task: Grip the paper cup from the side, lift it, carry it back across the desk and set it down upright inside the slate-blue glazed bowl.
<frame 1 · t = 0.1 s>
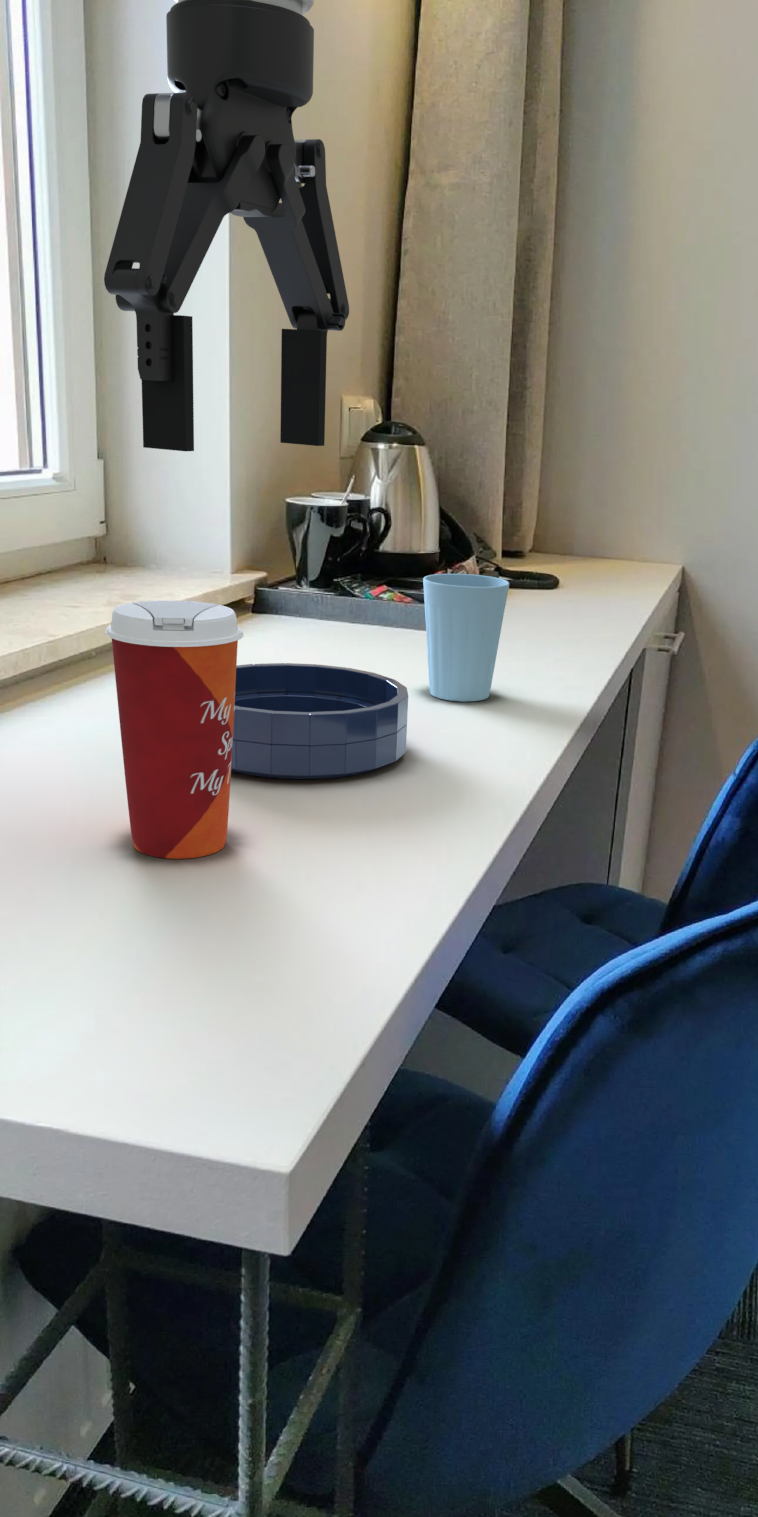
hand: (240, 447, 74), 23 cm above the table, tool pointing down, fingers open, 13 cm apart
bowl: (295, 751, 98), on the table
cup: (459, 696, 119), on the table
paper cup: (179, 845, 78), on the table
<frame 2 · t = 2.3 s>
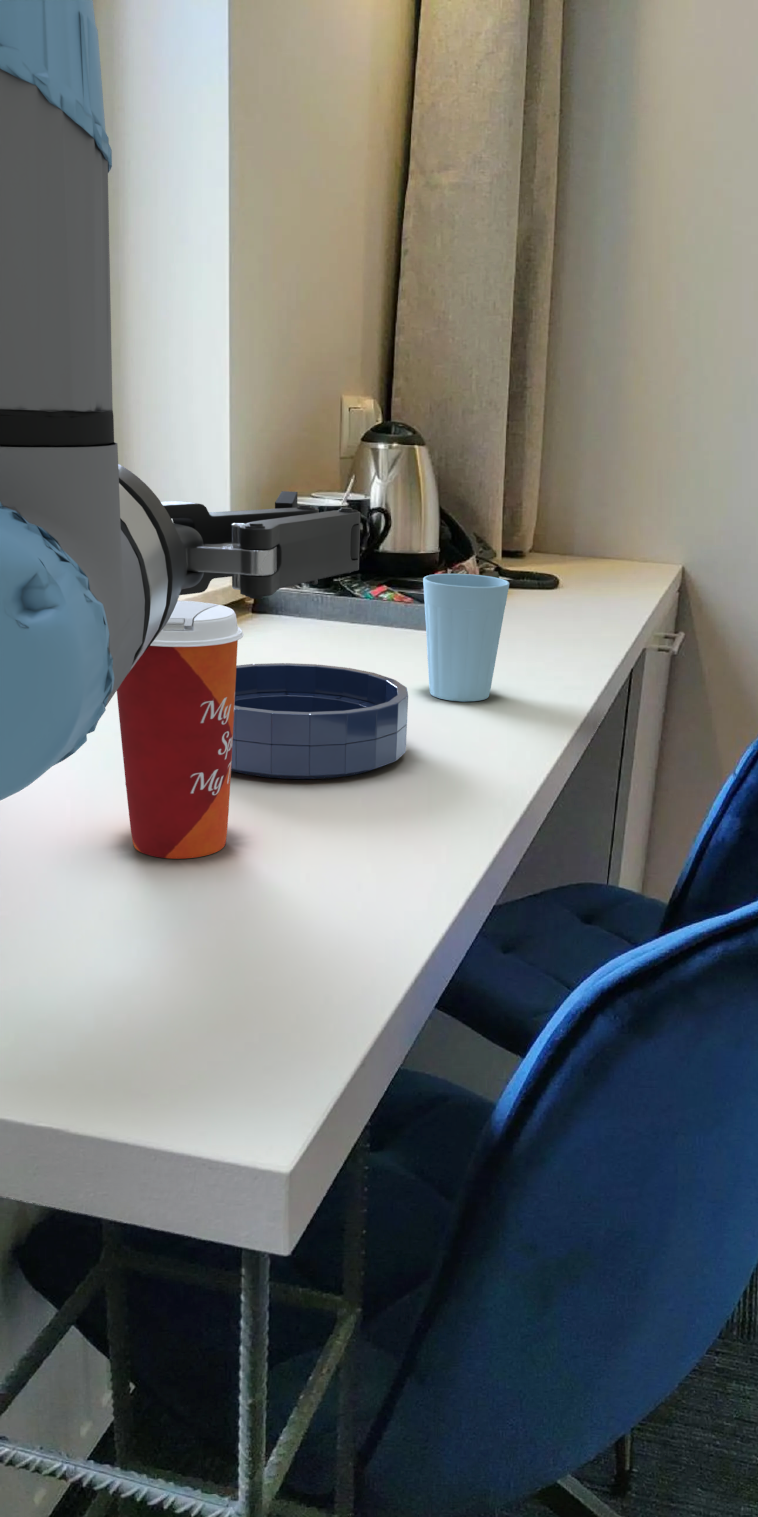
hand: (147, 514, 62), 20 cm above the table, tool horizontal, fingers open, 13 cm apart
nothing on the table moved.
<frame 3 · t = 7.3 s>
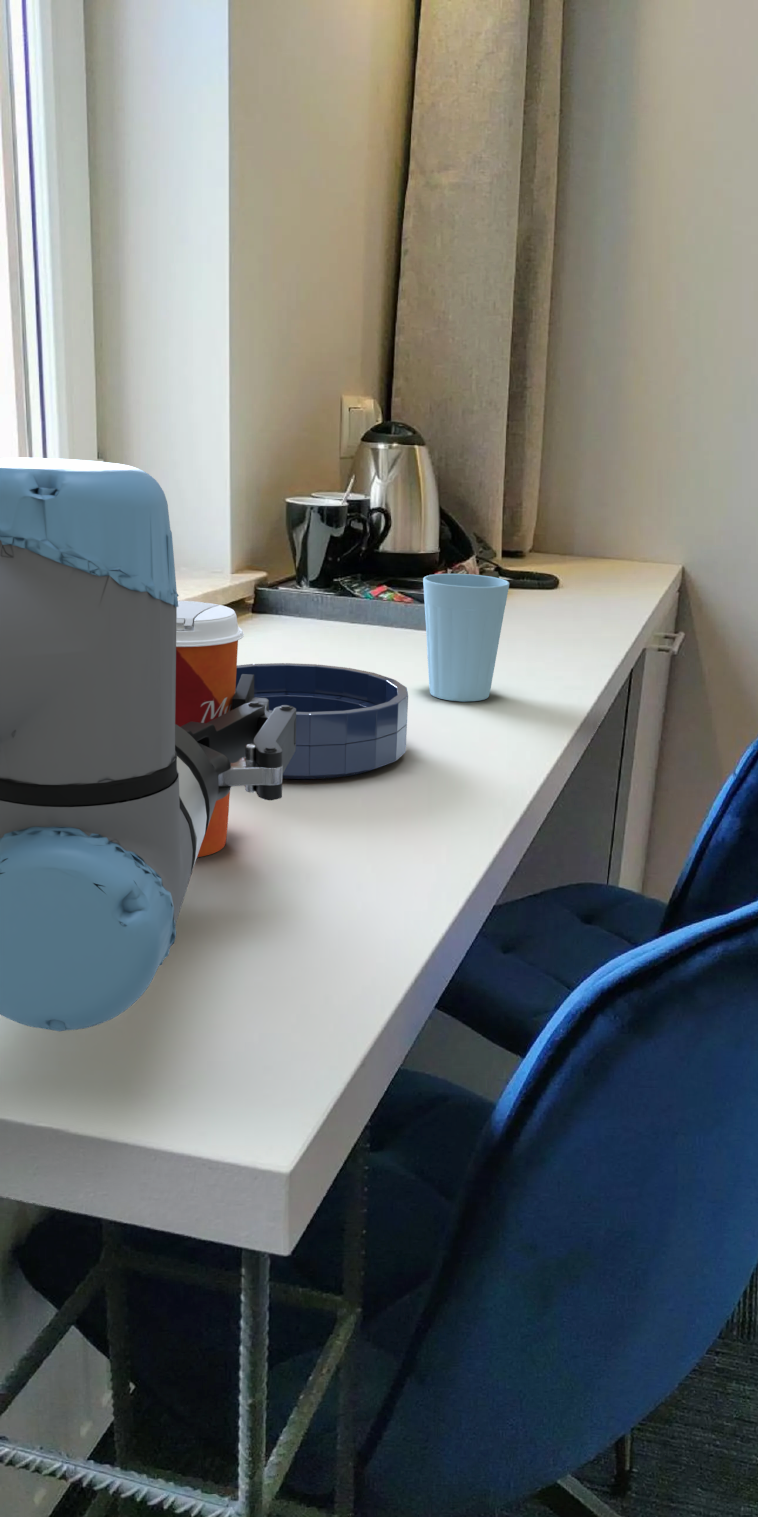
hand: (187, 693, 80), 8 cm above the table, tool horizontal, fingers closed on paper cup, 7 cm apart
paper cup: (179, 845, 78), on the table, touching gripper
everything else where it was.
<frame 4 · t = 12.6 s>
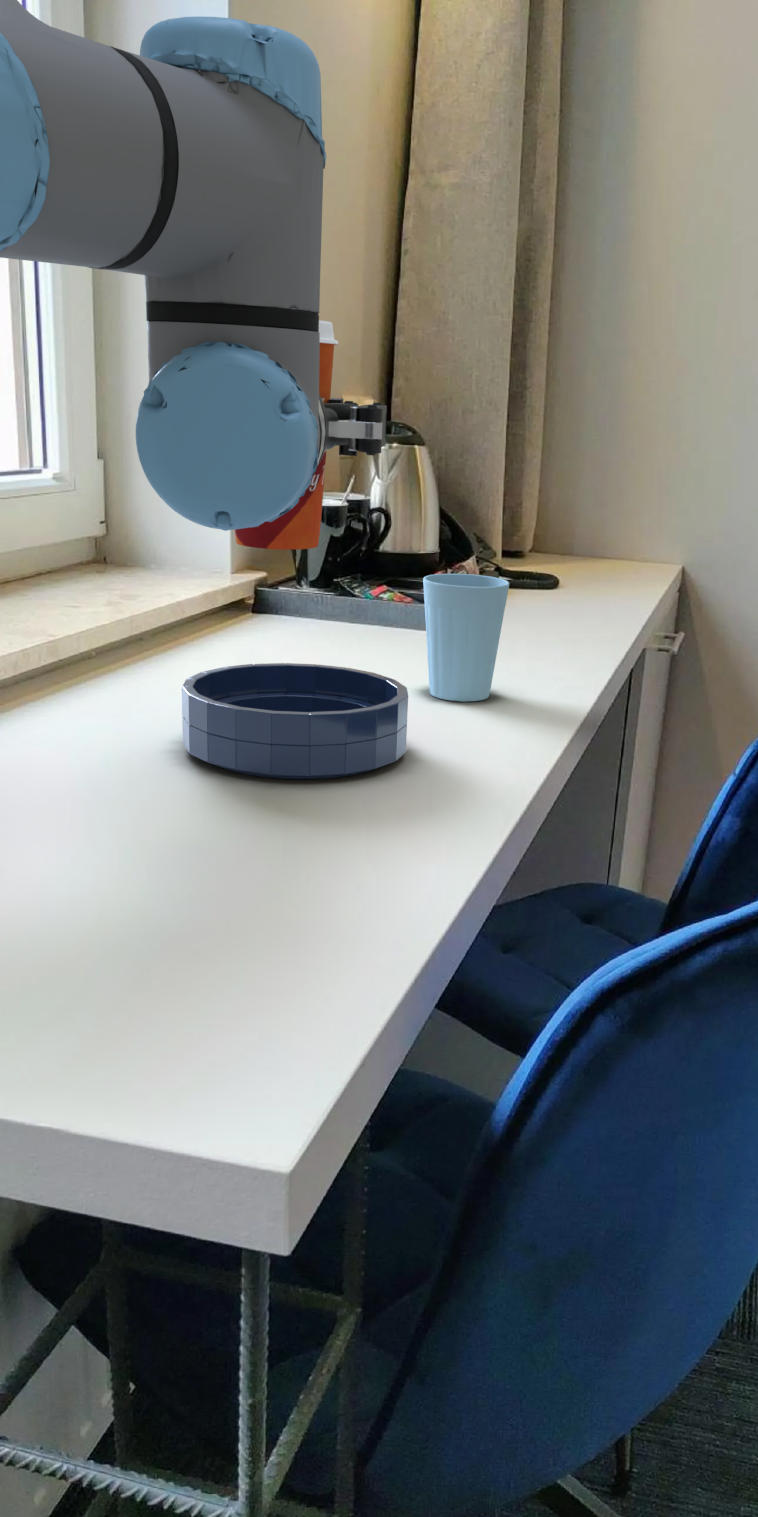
hand: (283, 416, 89), 24 cm above the table, tool horizontal, fingers closed on paper cup, 7 cm apart
paper cup: (277, 546, 87), point 16 cm above the table, touching gripper
everything else where it was.
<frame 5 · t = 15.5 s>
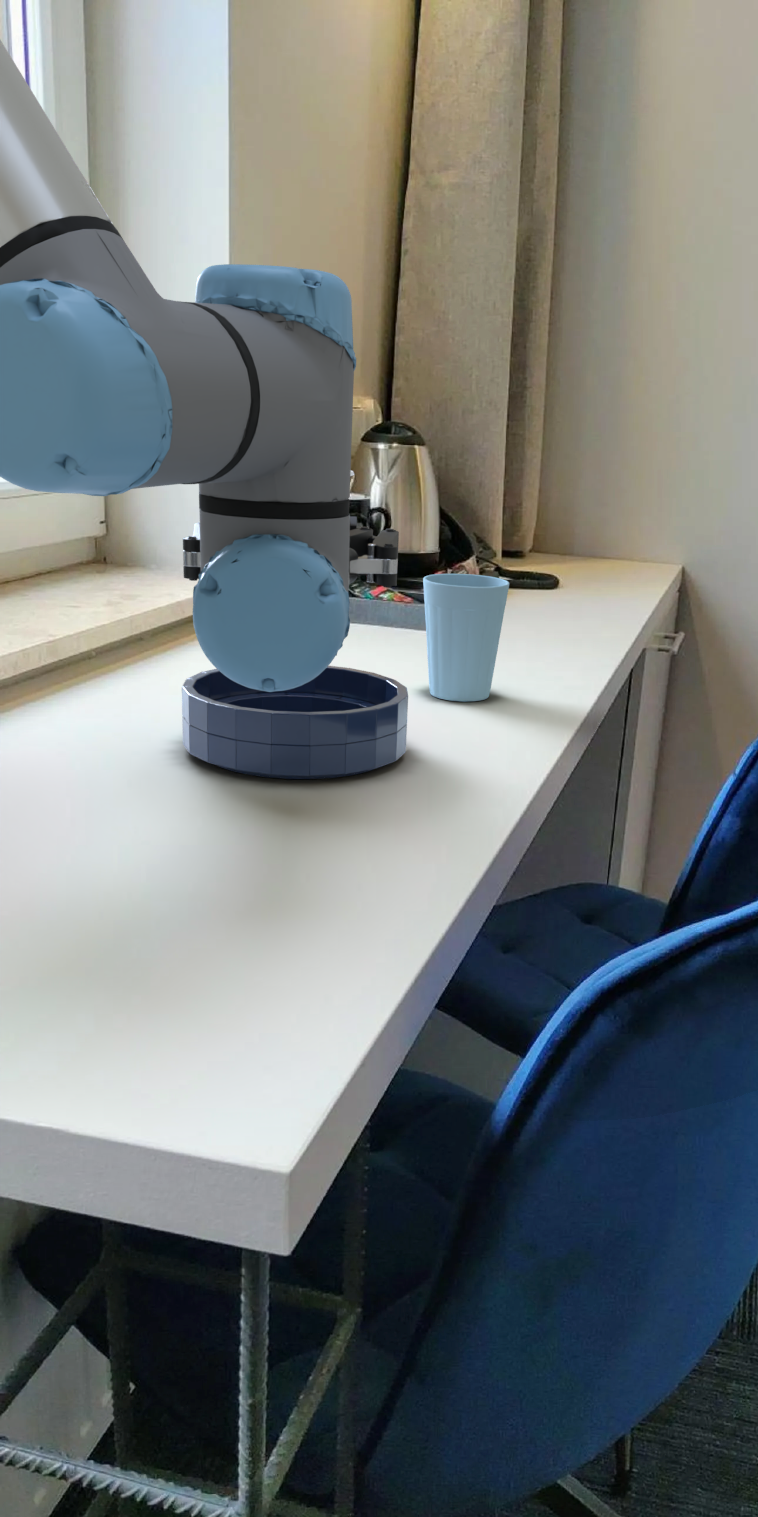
hand: (301, 532, 97), 16 cm above the table, tool horizontal, fingers closed on paper cup, 7 cm apart
paper cup: (298, 654, 95), point 7 cm above the table, touching gripper
everything else where it was.
when the fingers open (9 cm above the table, at t = 17.8 s): paper cup stays where it is, resting on bowl.
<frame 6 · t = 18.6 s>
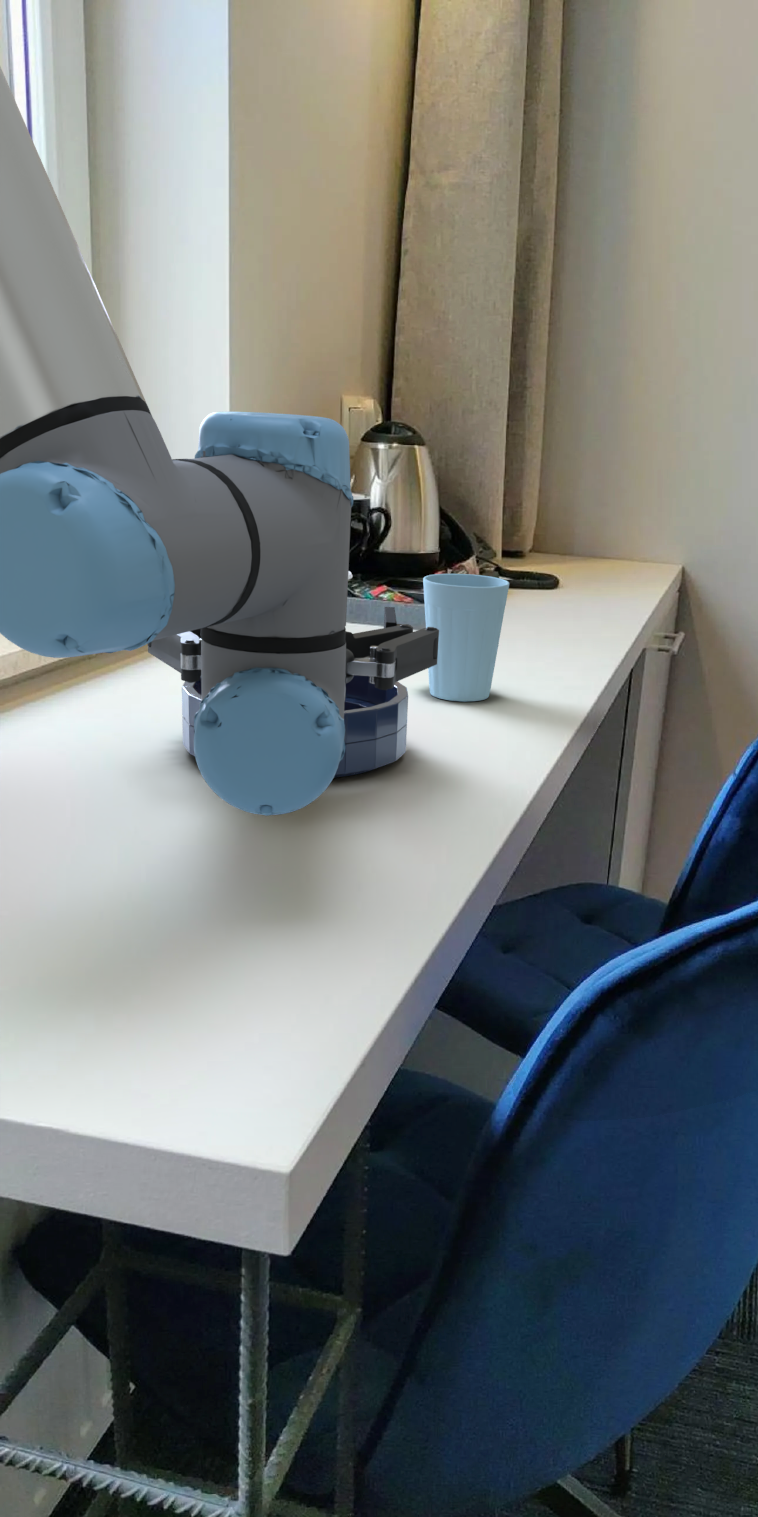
hand: (298, 620, 98), 9 cm above the table, tool horizontal, fingers open, 13 cm apart
paper cup: (296, 746, 98), resting on bowl
everything else where it was.
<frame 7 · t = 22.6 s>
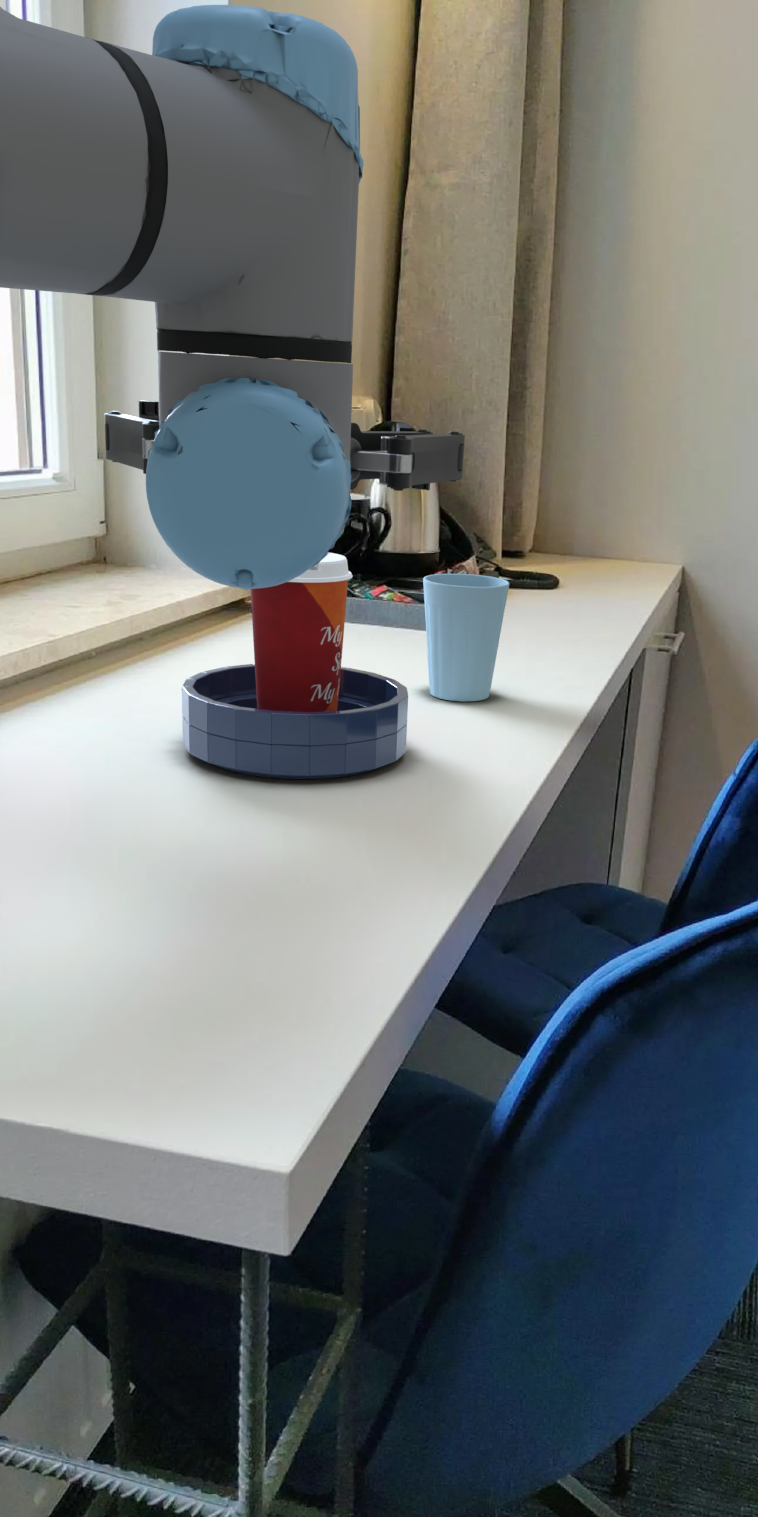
hand: (293, 439, 81), 23 cm above the table, tool horizontal, fingers open, 13 cm apart
nothing on the table moved.
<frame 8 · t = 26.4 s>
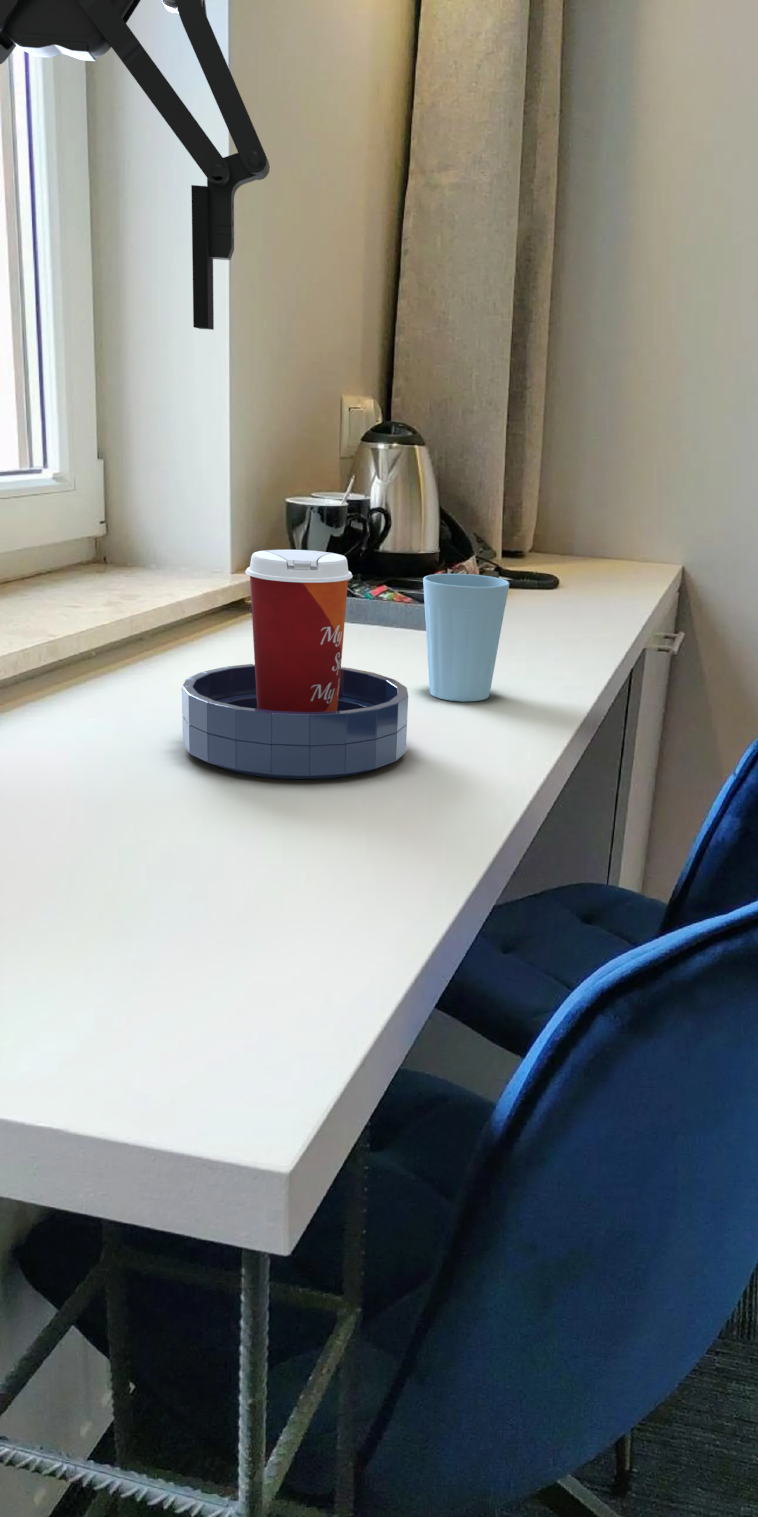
hand: (71, 321, 67), 29 cm above the table, tool pointing down, fingers open, 13 cm apart
nothing on the table moved.
at the end: paper cup inside the target area in the bowl (0.1 cm from its centre), point 0.4 cm above the bowl's base; paper cup tilted 0°; the gripper is holding nothing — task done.
